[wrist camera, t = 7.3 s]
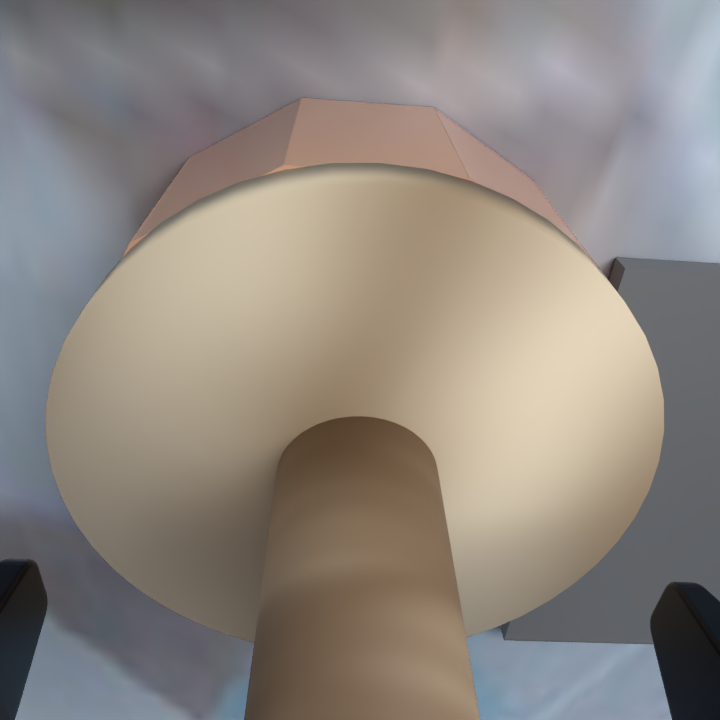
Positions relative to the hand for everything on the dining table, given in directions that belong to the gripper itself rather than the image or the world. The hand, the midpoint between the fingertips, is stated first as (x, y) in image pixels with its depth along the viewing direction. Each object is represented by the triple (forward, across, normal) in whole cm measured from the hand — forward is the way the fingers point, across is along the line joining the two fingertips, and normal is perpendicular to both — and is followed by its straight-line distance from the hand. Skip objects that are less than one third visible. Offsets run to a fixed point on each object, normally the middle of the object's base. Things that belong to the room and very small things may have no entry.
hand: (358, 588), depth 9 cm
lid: (+3, 0, 0) cm, 3 cm away
